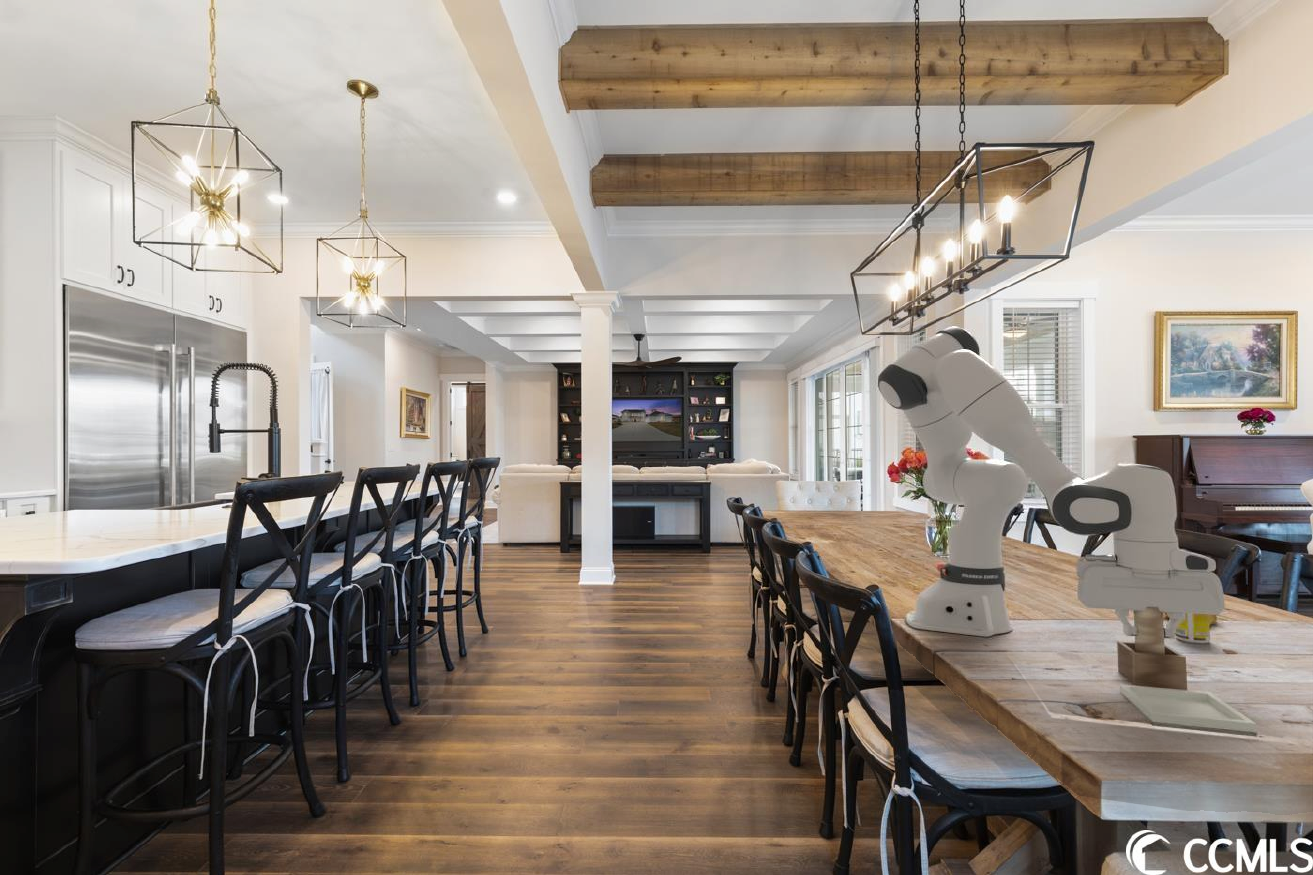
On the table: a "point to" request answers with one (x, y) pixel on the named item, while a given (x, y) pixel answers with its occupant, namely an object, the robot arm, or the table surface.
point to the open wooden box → (1152, 667)
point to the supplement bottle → (1194, 628)
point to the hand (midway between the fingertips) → (1149, 636)
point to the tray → (1188, 709)
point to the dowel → (1149, 631)
